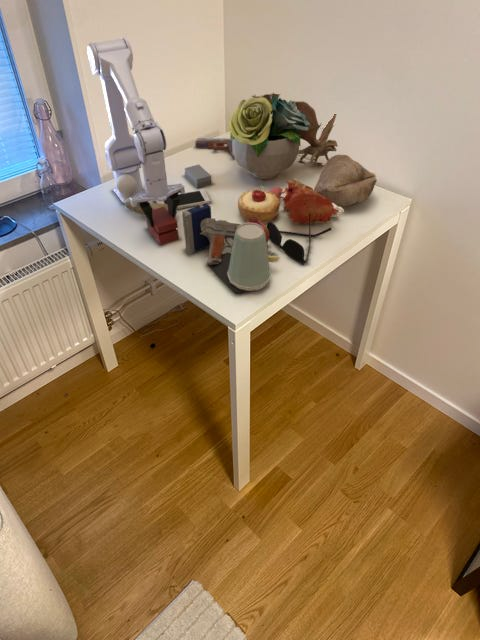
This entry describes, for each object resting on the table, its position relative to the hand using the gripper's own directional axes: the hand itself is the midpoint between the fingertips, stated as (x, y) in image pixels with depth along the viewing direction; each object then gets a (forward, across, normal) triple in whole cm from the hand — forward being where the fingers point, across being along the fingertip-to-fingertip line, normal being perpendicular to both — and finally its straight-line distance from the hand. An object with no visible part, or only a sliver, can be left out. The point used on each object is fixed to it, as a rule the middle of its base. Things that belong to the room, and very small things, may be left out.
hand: (161, 222), depth 133 cm
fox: (+1, +14, -27) cm, 30 cm away
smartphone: (+4, +12, +13) cm, 18 cm away
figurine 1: (+3, 0, +10) cm, 10 cm away
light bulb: (+4, -3, +17) cm, 18 cm away
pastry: (+4, +28, -5) cm, 29 cm away
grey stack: (+4, +22, +23) cm, 32 cm away
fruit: (+4, +18, -19) cm, 26 cm away
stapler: (0, +45, -14) cm, 47 cm away
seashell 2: (+4, +54, -10) cm, 55 cm away
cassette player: (+4, +6, -11) cm, 13 cm away
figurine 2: (+4, +34, -5) cm, 35 cm away
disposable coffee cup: (-12, +10, -31) cm, 34 cm away
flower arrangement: (+4, +43, +16) cm, 45 cm away
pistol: (+6, +11, -20) cm, 24 cm away
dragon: (+3, +58, +12) cm, 59 cm away
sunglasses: (+4, +31, -22) cm, 38 cm away
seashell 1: (-3, +32, -11) cm, 34 cm away
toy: (+4, +22, -22) cm, 31 cm away
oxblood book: (0, 0, 0) cm, 0 cm away
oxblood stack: (+4, 0, 0) cm, 4 cm away
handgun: (+2, +35, +32) cm, 48 cm away
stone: (+4, +14, -8) cm, 16 cm away
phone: (+4, +8, -25) cm, 27 cm away
